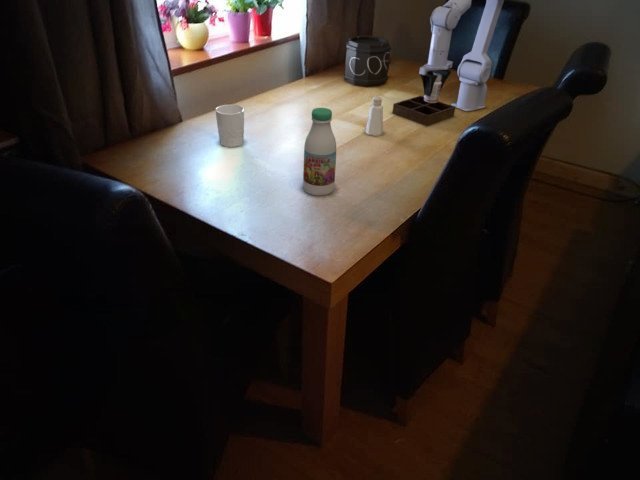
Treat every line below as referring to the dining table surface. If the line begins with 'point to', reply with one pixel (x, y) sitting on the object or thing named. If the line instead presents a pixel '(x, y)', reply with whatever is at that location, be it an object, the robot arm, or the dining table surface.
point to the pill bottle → (434, 90)
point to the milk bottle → (320, 154)
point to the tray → (423, 110)
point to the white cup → (230, 125)
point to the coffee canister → (367, 61)
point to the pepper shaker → (375, 118)
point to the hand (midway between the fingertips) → (432, 93)
